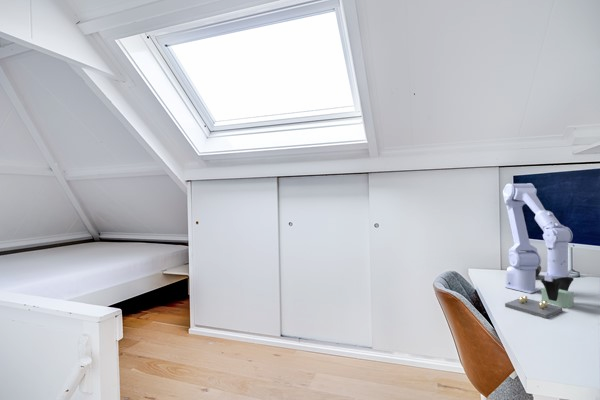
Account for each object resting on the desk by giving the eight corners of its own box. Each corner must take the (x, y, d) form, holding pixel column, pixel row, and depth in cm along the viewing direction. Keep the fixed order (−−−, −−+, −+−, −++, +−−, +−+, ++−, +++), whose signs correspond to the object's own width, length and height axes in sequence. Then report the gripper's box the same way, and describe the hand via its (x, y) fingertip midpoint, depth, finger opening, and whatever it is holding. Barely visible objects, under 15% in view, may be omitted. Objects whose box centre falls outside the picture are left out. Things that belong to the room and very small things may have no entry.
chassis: (505, 306, 108) (505, 297, 108) (522, 300, 114) (522, 291, 114) (545, 318, 98) (545, 308, 98) (562, 310, 104) (562, 301, 104)
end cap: (539, 280, 140) (539, 265, 139) (520, 278, 144) (520, 263, 144) (541, 276, 147) (541, 262, 147) (523, 273, 152) (523, 260, 152)
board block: (541, 301, 113) (541, 288, 113) (546, 299, 115) (546, 286, 115) (568, 308, 106) (568, 294, 106) (573, 306, 108) (573, 292, 108)
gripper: (562, 265, 103) (562, 305, 104) (580, 260, 111) (580, 297, 111) (537, 261, 109) (537, 299, 110) (556, 256, 117) (556, 292, 117)
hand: (557, 298), depth 111 cm, fingers open, 7 cm apart
